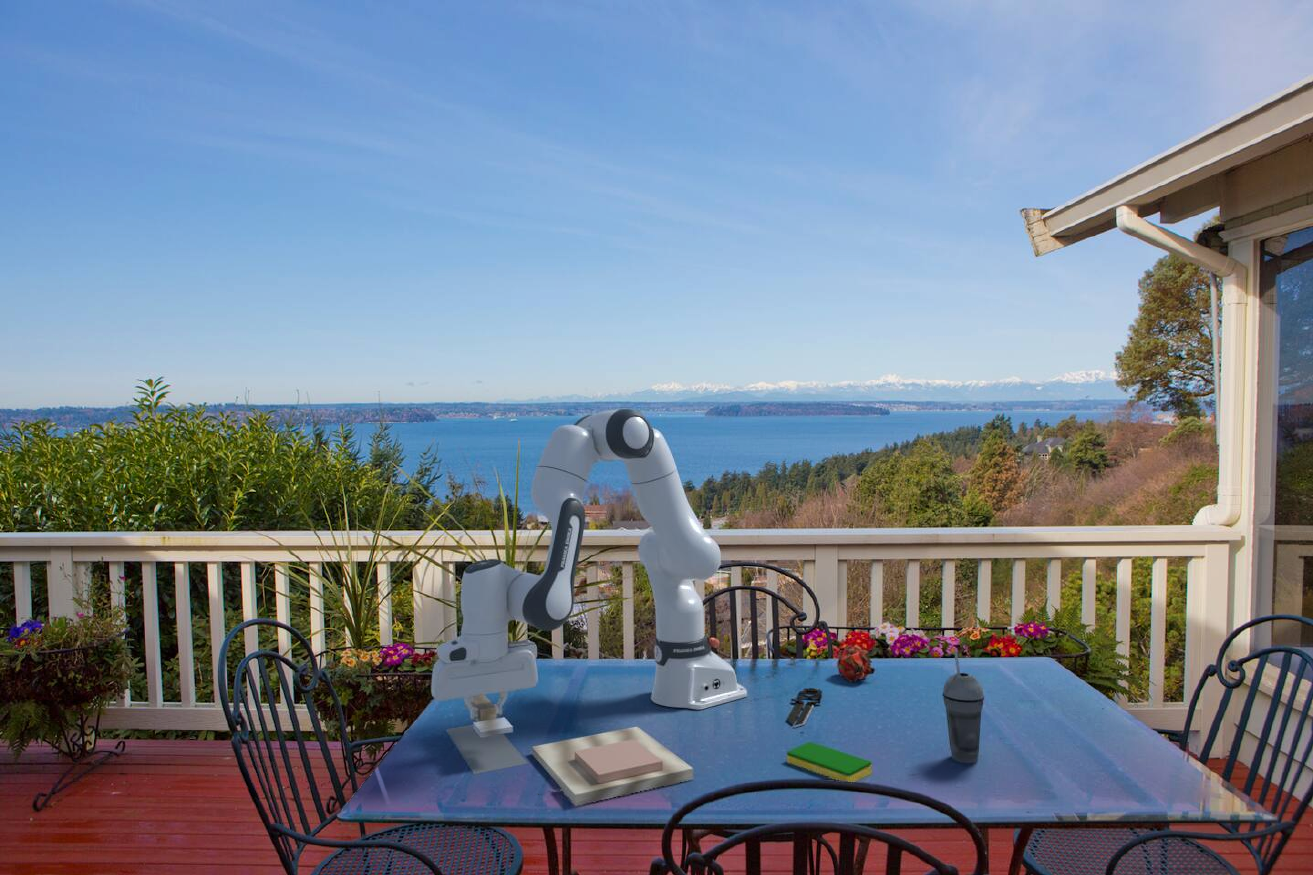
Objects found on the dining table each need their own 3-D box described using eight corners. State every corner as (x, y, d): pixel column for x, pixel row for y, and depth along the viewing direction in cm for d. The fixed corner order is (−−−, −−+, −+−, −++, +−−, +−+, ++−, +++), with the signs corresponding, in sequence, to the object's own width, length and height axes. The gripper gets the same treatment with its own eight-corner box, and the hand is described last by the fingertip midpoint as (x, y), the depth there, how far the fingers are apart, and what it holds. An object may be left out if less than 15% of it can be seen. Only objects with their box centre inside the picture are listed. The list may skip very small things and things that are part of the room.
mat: (492, 723, 174) (492, 721, 174) (528, 766, 151) (528, 763, 151) (445, 732, 170) (445, 729, 170) (474, 777, 146) (474, 774, 146)
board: (637, 736, 165) (636, 726, 165) (693, 779, 143) (693, 768, 143) (532, 757, 155) (531, 746, 155) (575, 806, 134) (575, 794, 134)
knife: (801, 731, 167) (801, 725, 167) (770, 727, 169) (770, 720, 169) (830, 695, 189) (829, 689, 189) (802, 692, 192) (802, 686, 192)
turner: (486, 702, 170) (486, 687, 170) (512, 731, 152) (512, 715, 152) (457, 706, 167) (457, 692, 167) (480, 737, 149) (480, 721, 149)
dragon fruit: (853, 677, 207) (862, 698, 195) (825, 658, 207) (833, 679, 195) (873, 651, 206) (883, 671, 194) (845, 632, 205) (854, 651, 194)
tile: (634, 739, 154) (662, 760, 143) (634, 747, 154) (662, 769, 143) (574, 751, 148) (598, 774, 138) (574, 759, 148) (599, 783, 138)
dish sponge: (810, 753, 155) (809, 740, 155) (872, 774, 144) (872, 761, 144) (786, 764, 150) (785, 751, 150) (848, 787, 140) (848, 773, 140)
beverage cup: (982, 769, 145) (979, 656, 145) (939, 761, 148) (936, 651, 148) (989, 755, 151) (986, 647, 151) (948, 748, 155) (946, 643, 155)
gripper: (532, 635, 165) (533, 703, 165) (428, 647, 156) (430, 719, 156) (541, 641, 159) (542, 712, 159) (435, 655, 150) (436, 730, 150)
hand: (486, 716), depth 158 cm, fingers closed on turner, 3 cm apart
